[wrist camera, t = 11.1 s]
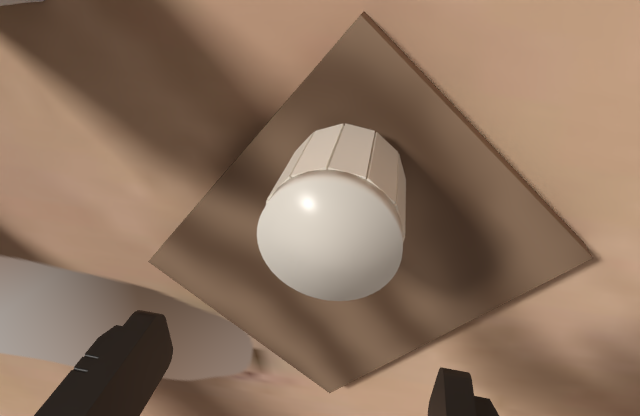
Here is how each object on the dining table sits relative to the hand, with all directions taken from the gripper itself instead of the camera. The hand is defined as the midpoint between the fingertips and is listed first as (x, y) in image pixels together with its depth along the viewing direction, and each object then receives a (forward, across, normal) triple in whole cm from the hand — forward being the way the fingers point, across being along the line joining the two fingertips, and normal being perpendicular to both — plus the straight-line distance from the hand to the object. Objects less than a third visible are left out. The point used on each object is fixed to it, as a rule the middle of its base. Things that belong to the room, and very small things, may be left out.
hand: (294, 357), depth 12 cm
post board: (+14, 0, +7) cm, 16 cm away
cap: (+12, 0, 0) cm, 12 cm away
